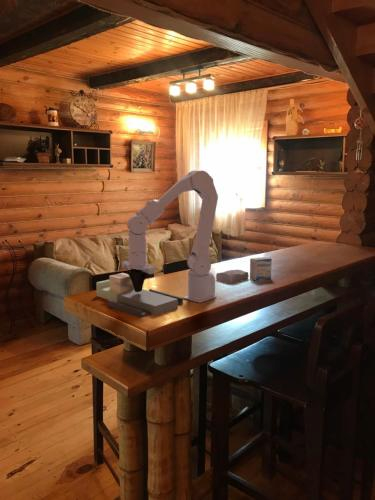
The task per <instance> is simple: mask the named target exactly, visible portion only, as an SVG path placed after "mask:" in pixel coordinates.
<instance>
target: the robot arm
mask: <svg viewBox="0 0 375 500" xmlns="http://www.w3.org/2000/svg"><path fill="white" fill-rule="evenodd" d="M192 191H194V192H196V194H197V195H198V196H199V197H200V199H201V205H200V206H201V207H200V212H199V217H198V222H197V227H196V232H195V240H194V245H193V246H192V247H191V252H190V254H189V256H188V257H187V259H186V264H187V266H188V268H189V270H188V272H187V273H188V275H187V276H188V280H187V281H188V282H187V285H188V287H187V289H188V290H187V291H188V293H187V295H185V296H182V298H183V300H184V299H185V300H187V301H188V300H189V301H191V302H194V303H195V302H196V303H199V304H200V303H203V302H206V301H209V300H212V299H215V298H217V295H216V277H215V275H214V274H213V273H212V272H211V271H210V270H211V269H212V263H211V259H210V258H211V252H210V245H211V239H212V233H213V228H214V223H215V222H214V221H215V215H216V210H217V206H218V201H219V195H218V193H217V189H216V187H215V184H214V178H213V177H212V176H211V175H210V174H209V172H207V171H205V170H191V171H189V172H188V173H187V174H186V175H184V176H182V177H181V178H180V179H179V180H177V182H176V183H174V184H173V185H172V186H171V187H170V188H169V189H168V190H167V191H166V192H164V194H162V196H160V197H159V198H158V199H151V200H146V202H145V203H146V205H144V206H143V207H141V209H139V210H136V211H135V213H134V214H136V215H132V216H131V217H129V218H128V220H127V223H126V227H127V229H128V261H127V260H126V261H121V268H123V269H125V268H126V269H129V270H128V271H127V274H128V275H129V277H130V278H131V281H132V283H133V287H134V290H135V292H140V291H142V289H144V287H143V286H144V283H145V280H146V278H147V276H148V275H154V274H155V270H156V269H155V267H154V266H152V265H149V264H148V263H147V240H146V239H147V238H146V231H147V229H148V226H150V225H151V224H153V223H154V222H155V221H156V220H158V218H160V216H162V215H163V214H164V213H165V207H166V206H168V205H169V204H170V203H171V202H172V201H174V200H175V199H176V198H178V197H179V196H180V195H182V193H184V192H192Z"/></svg>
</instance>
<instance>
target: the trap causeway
mask: <svg viewBox="0 0 375 500" xmlns="http://www.w3.org/2000/svg"><path fill="white" fill-rule="evenodd" d="M95 285H96V296H97V297H98V298H101V299H104V300H107V307H110V308H111V309H115V310H117V311H120V312H123V313H126V314H129V315H132V316H135V317H138V318H143V317H145V316H149V315H153V316H157V315H162V314H164V313H166V312H170V311H173V310H176V309H178V308H179V306H180V305H183V303H184V298H183V297H181V296H177V295H174V294H170V293H167V292H164V291H163V292H162V291H159V290H155V289H152V288H149V289H148V290H146V289H144V288H142V291H140V292H135V290H130V291H126V292H122V293H119V292H116V291H113V290H110V280H109V279H106V280H102V281H97V282H96V284H95Z"/></svg>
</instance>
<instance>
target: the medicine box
mask: <svg viewBox="0 0 375 500" xmlns="http://www.w3.org/2000/svg"><path fill="white" fill-rule="evenodd" d="M272 260H273V259H272V258H271V257H266V256H264V257H262V256H261V257H253V258H250V259H249V279H250V280H253V281H263V280H270V279H271V278H272V265H273V264H272V263H273V262H272Z"/></svg>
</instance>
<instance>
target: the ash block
mask: <svg viewBox="0 0 375 500" xmlns="http://www.w3.org/2000/svg"><path fill="white" fill-rule="evenodd" d="M108 277H109V278H108V280H110V290H113V291H116V292H119V293H122V292H126V291H130V290H134V287H133V283H132V281H131V278H130V277H129V275H128V273H124V272H121V273H116V274H115V273H114V274H111V275H109V276H108Z"/></svg>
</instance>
